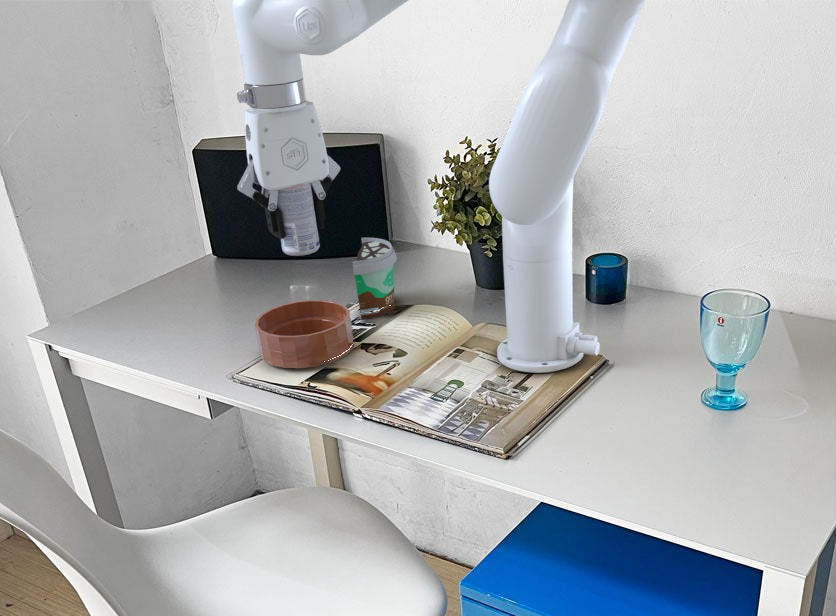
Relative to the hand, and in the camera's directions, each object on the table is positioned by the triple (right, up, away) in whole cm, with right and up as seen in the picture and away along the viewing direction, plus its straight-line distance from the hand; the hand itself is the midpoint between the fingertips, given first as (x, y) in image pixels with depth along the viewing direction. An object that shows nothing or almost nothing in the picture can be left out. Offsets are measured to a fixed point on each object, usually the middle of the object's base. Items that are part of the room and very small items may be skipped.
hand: (298, 230), depth 139 cm
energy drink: (0, -3, +2) cm, 3 cm away
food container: (+10, -6, +24) cm, 27 cm away
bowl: (0, -16, +11) cm, 19 cm away
